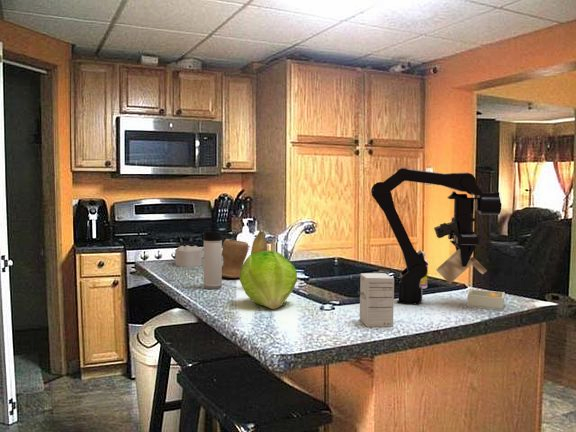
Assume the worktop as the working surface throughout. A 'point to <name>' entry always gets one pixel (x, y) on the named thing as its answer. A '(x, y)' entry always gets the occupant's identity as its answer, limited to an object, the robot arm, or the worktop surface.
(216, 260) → the travel mug
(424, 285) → the supplement bottle
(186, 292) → the worktop surface
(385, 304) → the supplement box
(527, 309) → the worktop surface
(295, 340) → the worktop surface
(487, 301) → the tray
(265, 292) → the lettuce
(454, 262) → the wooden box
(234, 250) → the stone cup
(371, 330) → the worktop surface
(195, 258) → the lumpy-topped squat cylinder
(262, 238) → the vegetable
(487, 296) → the ball
